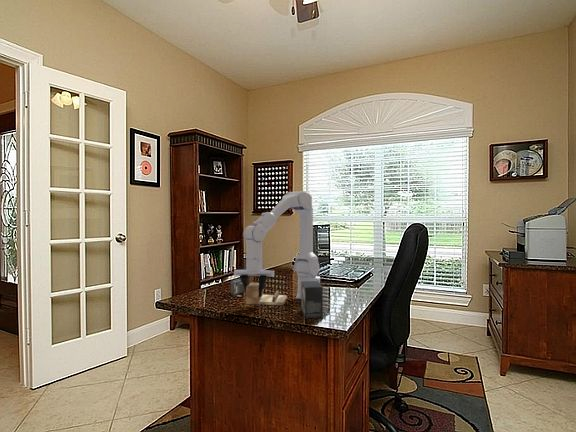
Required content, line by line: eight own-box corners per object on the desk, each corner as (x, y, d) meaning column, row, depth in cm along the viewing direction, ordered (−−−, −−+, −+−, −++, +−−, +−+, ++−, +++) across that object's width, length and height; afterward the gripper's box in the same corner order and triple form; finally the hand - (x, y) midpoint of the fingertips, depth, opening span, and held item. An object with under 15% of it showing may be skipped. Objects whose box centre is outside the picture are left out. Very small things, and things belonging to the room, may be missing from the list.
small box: (300, 309, 124) (300, 280, 124) (318, 309, 124) (318, 280, 124) (304, 318, 113) (304, 286, 113) (323, 318, 114) (323, 286, 114)
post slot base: (286, 297, 142) (286, 290, 142) (283, 305, 130) (283, 297, 130) (253, 296, 143) (253, 290, 143) (246, 303, 131) (246, 296, 132)
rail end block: (261, 298, 129) (261, 282, 129) (257, 304, 121) (257, 287, 121) (250, 298, 129) (251, 282, 129) (246, 304, 121) (246, 286, 121)
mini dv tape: (233, 295, 146) (233, 281, 146) (230, 294, 147) (230, 280, 147) (244, 291, 154) (245, 278, 154) (242, 291, 154) (242, 277, 154)
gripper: (231, 259, 122) (231, 298, 122) (272, 260, 120) (272, 299, 120) (236, 257, 129) (236, 293, 129) (275, 257, 127) (275, 294, 127)
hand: (254, 296), depth 125 cm, fingers closed on rail end block, 4 cm apart
